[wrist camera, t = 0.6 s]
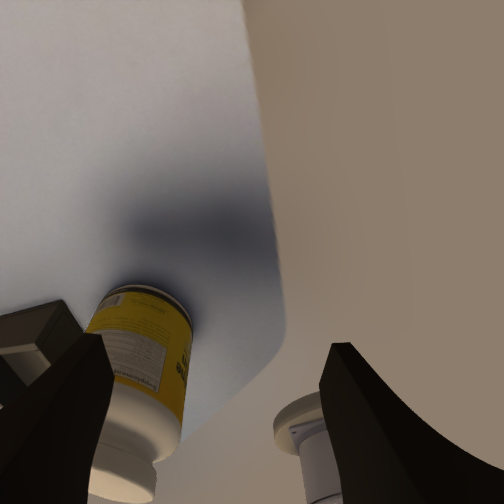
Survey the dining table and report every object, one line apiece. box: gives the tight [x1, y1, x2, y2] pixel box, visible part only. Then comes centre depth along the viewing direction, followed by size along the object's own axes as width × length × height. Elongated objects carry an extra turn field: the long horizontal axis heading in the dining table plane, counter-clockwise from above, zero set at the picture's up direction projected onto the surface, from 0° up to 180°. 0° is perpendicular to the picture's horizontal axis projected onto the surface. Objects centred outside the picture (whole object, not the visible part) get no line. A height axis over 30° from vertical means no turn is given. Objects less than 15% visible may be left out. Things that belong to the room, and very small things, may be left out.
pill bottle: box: [85, 285, 193, 504], centre depth 14 cm, size 6×6×12 cm
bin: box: [0, 300, 84, 408], centre depth 20 cm, size 13×12×4 cm
